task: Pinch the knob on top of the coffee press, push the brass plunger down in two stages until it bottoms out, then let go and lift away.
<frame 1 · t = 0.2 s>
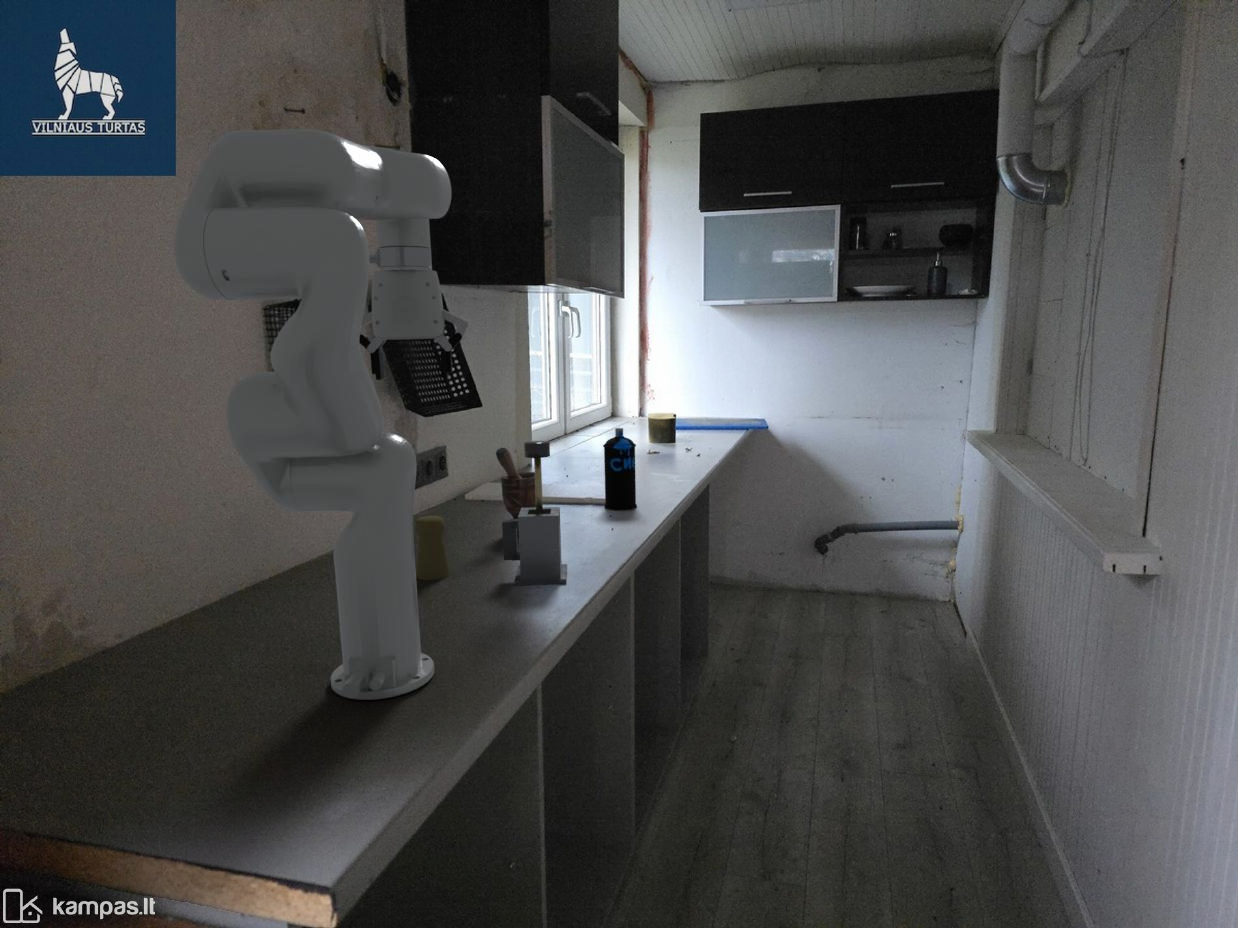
hand: (413, 378, 115), 37 cm above the kitchen counter, tool pointing down, fingers open, 9 cm apart
mortar and pestle: (521, 535, 166), on the kitchen counter
cork: (433, 576, 139), on the kitchen counter
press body: (541, 576, 137), on the kitchen counter
plunger: (538, 483, 134), point 17 cm above the kitchen counter, slide at 0.0 cm
aerosol can: (620, 507, 192), on the kitchen counter
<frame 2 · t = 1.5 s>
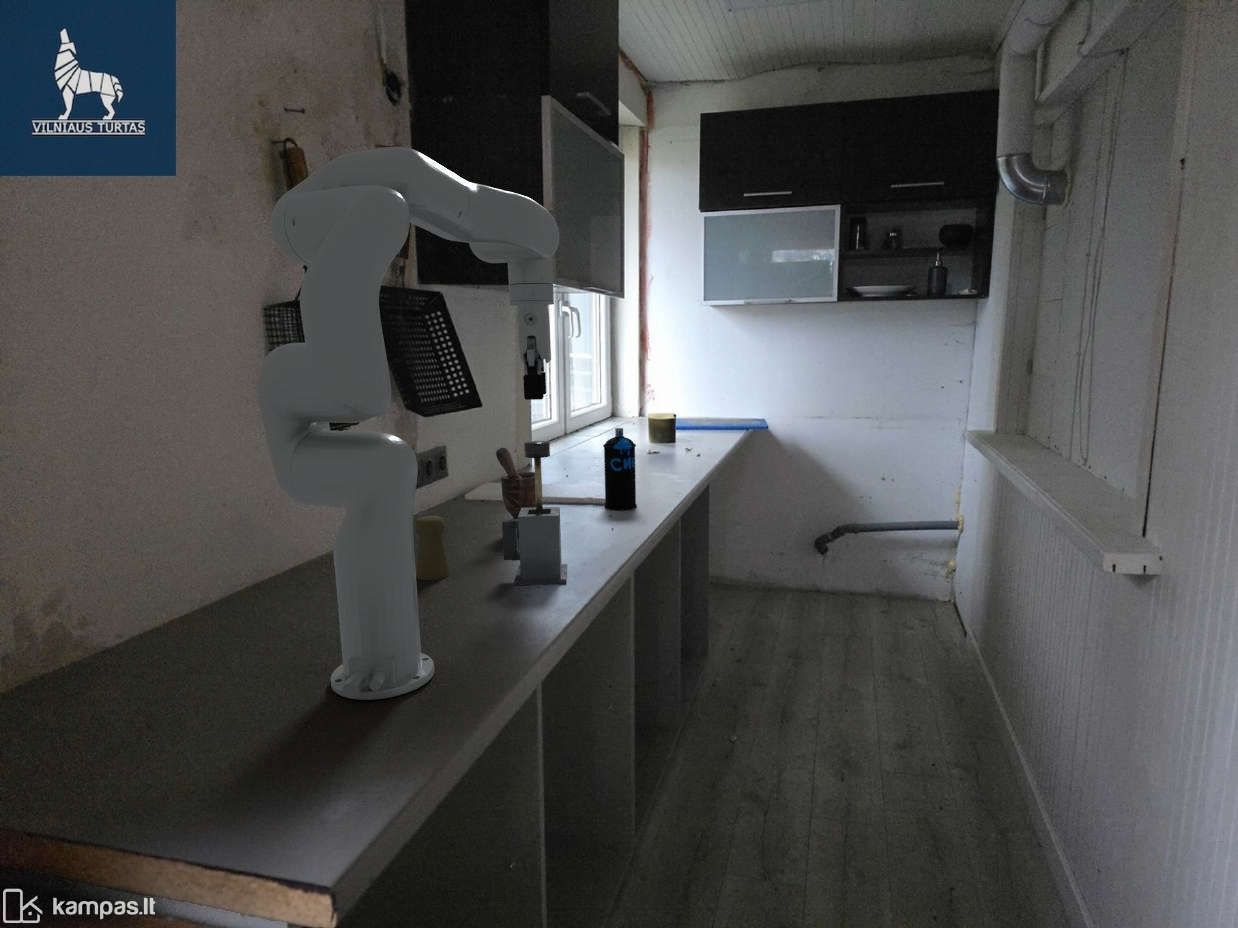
hand: (535, 396, 132), 32 cm above the kitchen counter, tool pointing down, fingers open, 9 cm apart
nothing on the kitchen counter moved.
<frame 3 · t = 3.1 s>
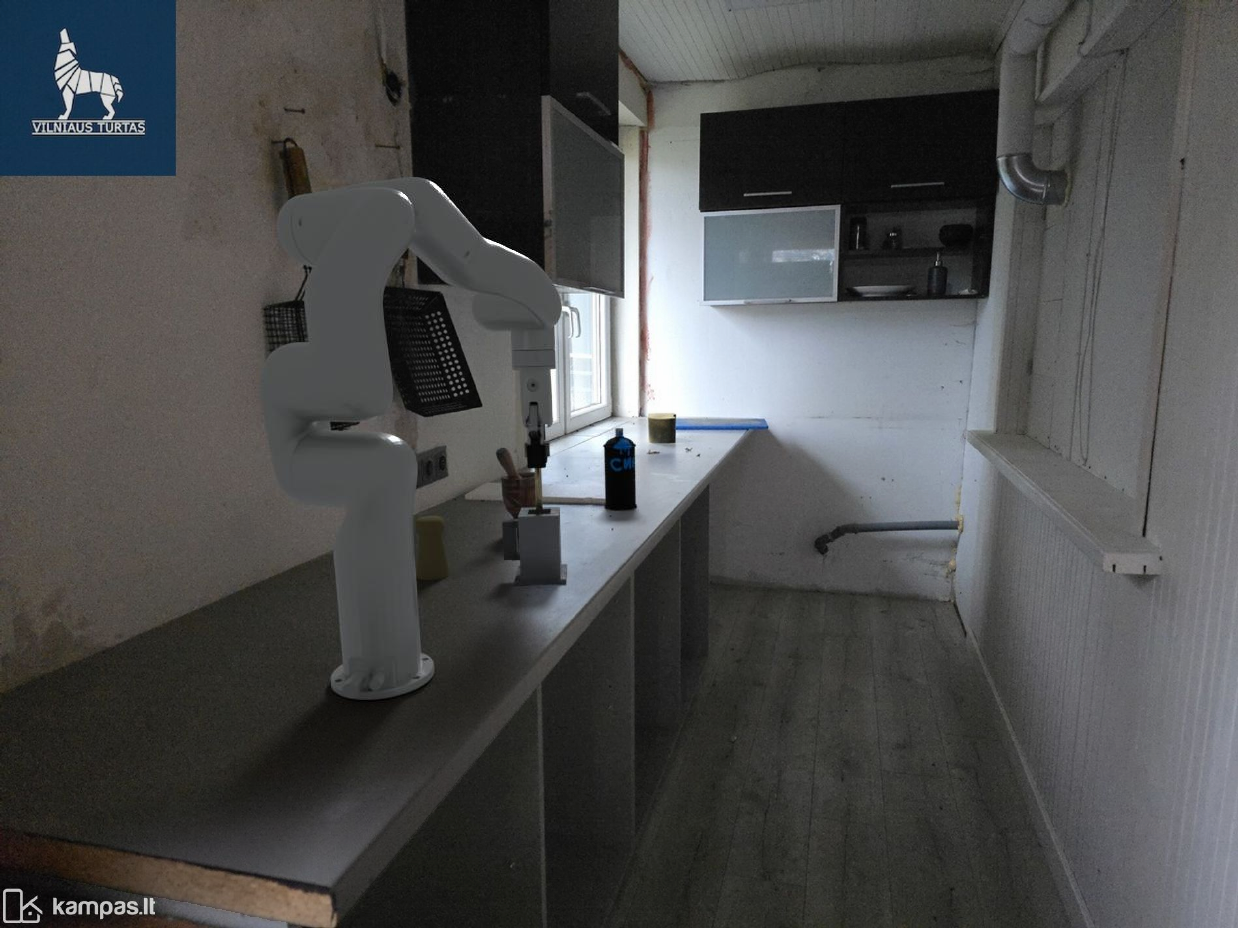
hand: (537, 464, 134), 21 cm above the kitchen counter, tool pointing down, fingers closed on plunger, 4 cm apart
plunger: (538, 483, 134), point 17 cm above the kitchen counter, slide at 0.0 cm, touching gripper
everything else where it was.
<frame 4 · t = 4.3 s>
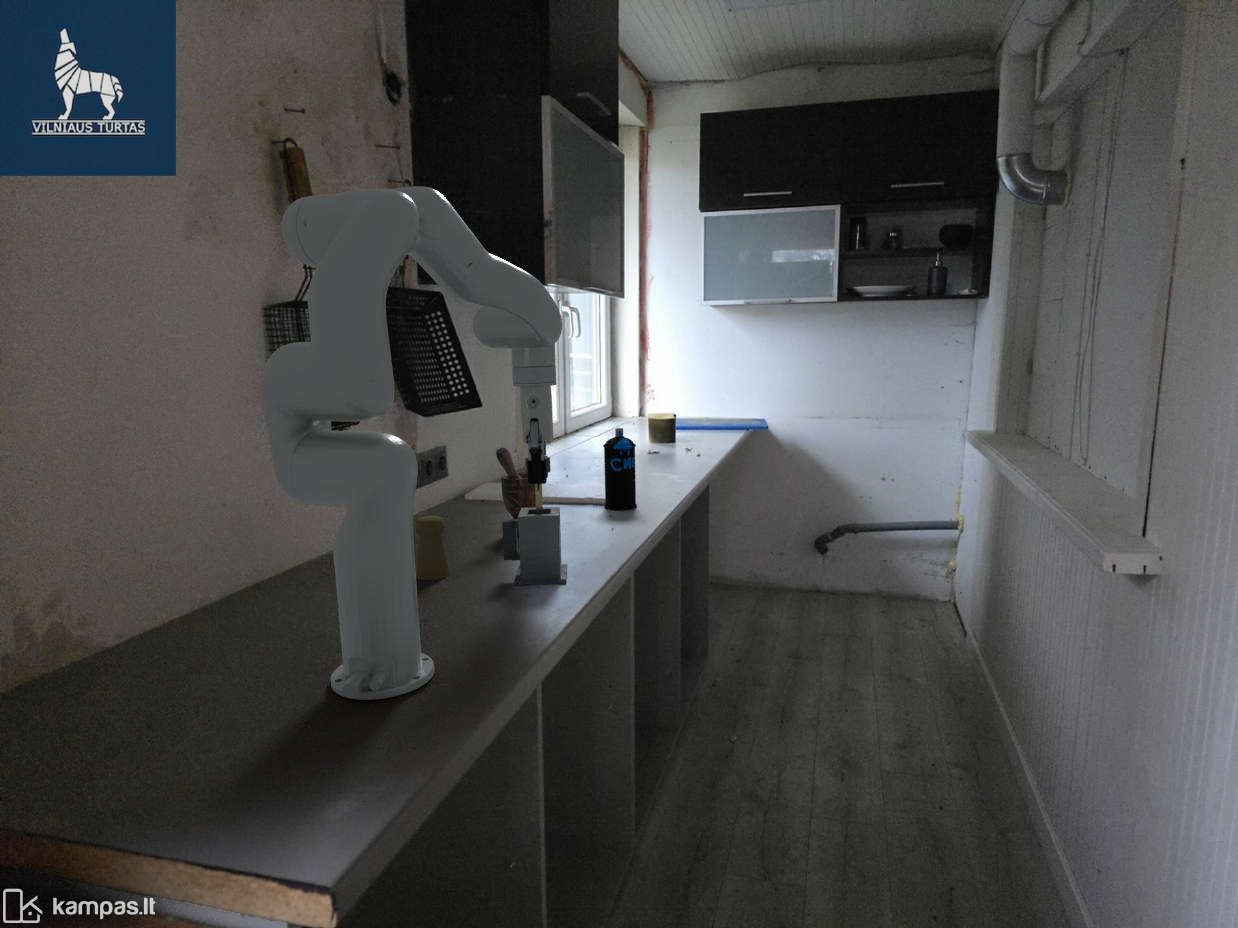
hand: (538, 479, 134), 18 cm above the kitchen counter, tool pointing down, fingers closed on plunger, 4 cm apart
plunger: (539, 499, 135), point 14 cm above the kitchen counter, slide at 2.8 cm, touching gripper
everything else where it was.
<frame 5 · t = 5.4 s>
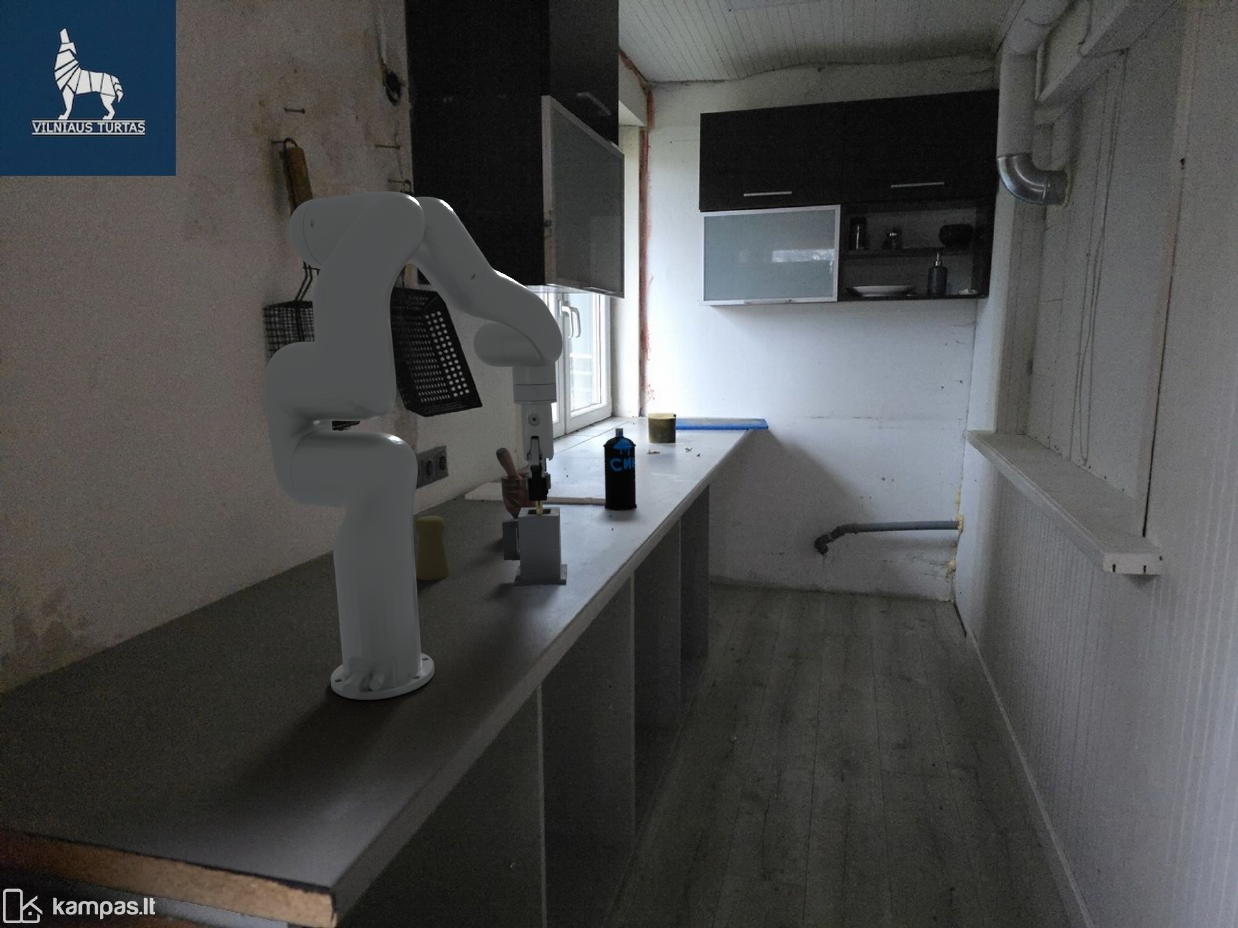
hand: (538, 496, 135), 15 cm above the kitchen counter, tool pointing down, fingers closed on plunger, 4 cm apart
plunger: (539, 515, 135), point 11 cm above the kitchen counter, slide at 5.8 cm, touching gripper
everything else where it was.
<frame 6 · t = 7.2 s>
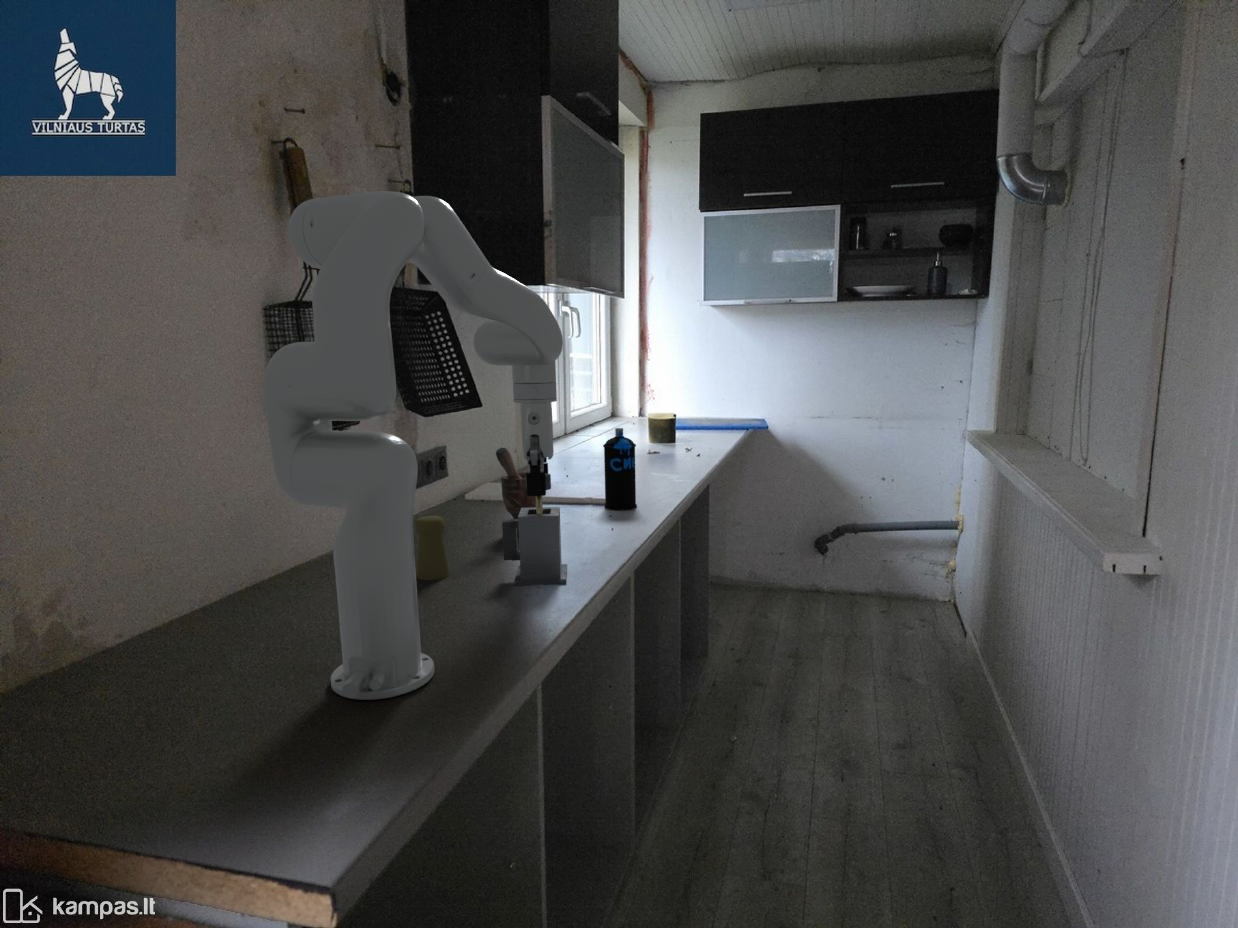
hand: (538, 490, 134), 16 cm above the kitchen counter, tool pointing down, fingers open, 9 cm apart
plunger: (539, 515, 135), point 11 cm above the kitchen counter, slide at 5.8 cm
everything else where it was.
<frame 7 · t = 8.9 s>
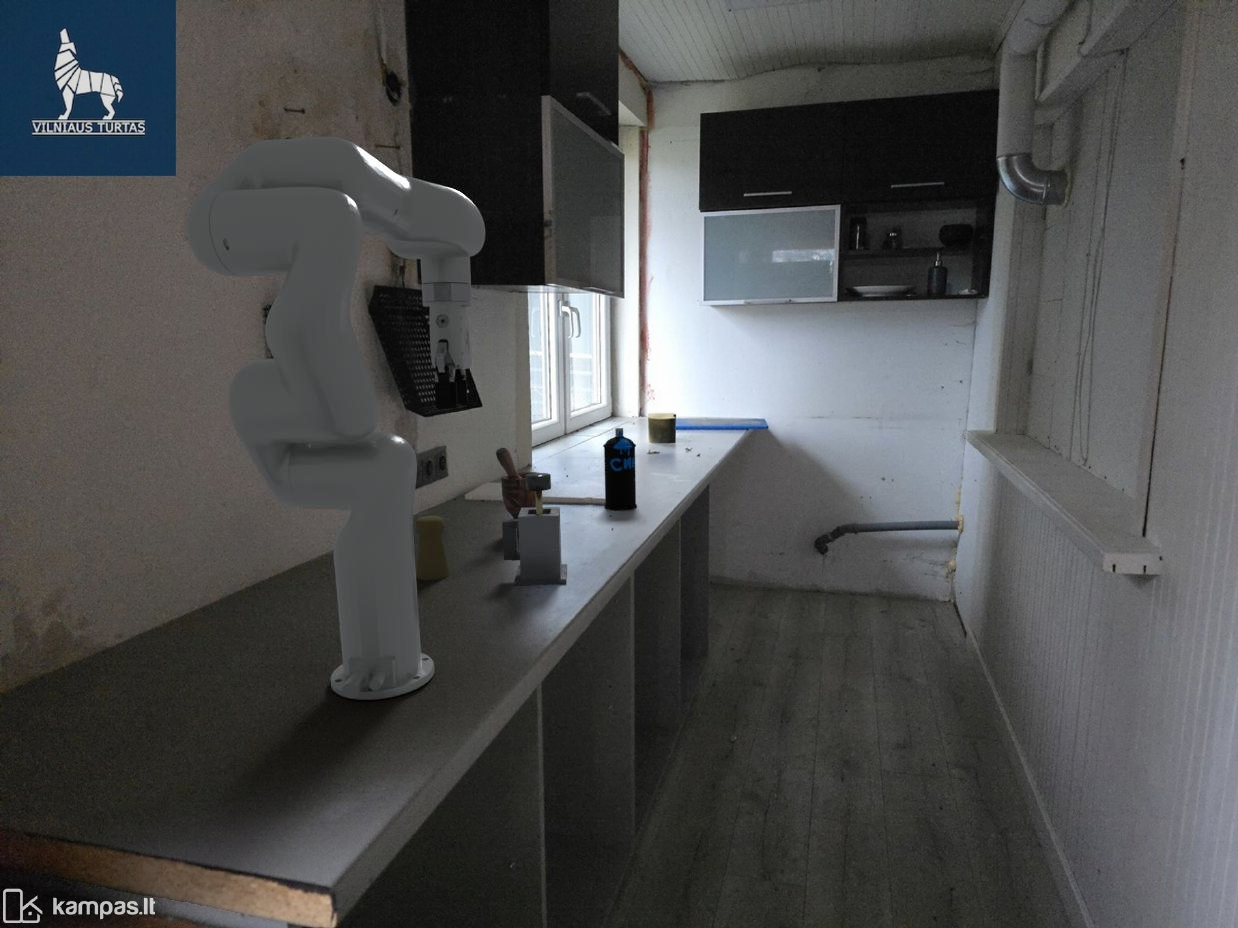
hand: (452, 406, 122), 32 cm above the kitchen counter, tool pointing down, fingers open, 9 cm apart
nothing on the kitchen counter moved.
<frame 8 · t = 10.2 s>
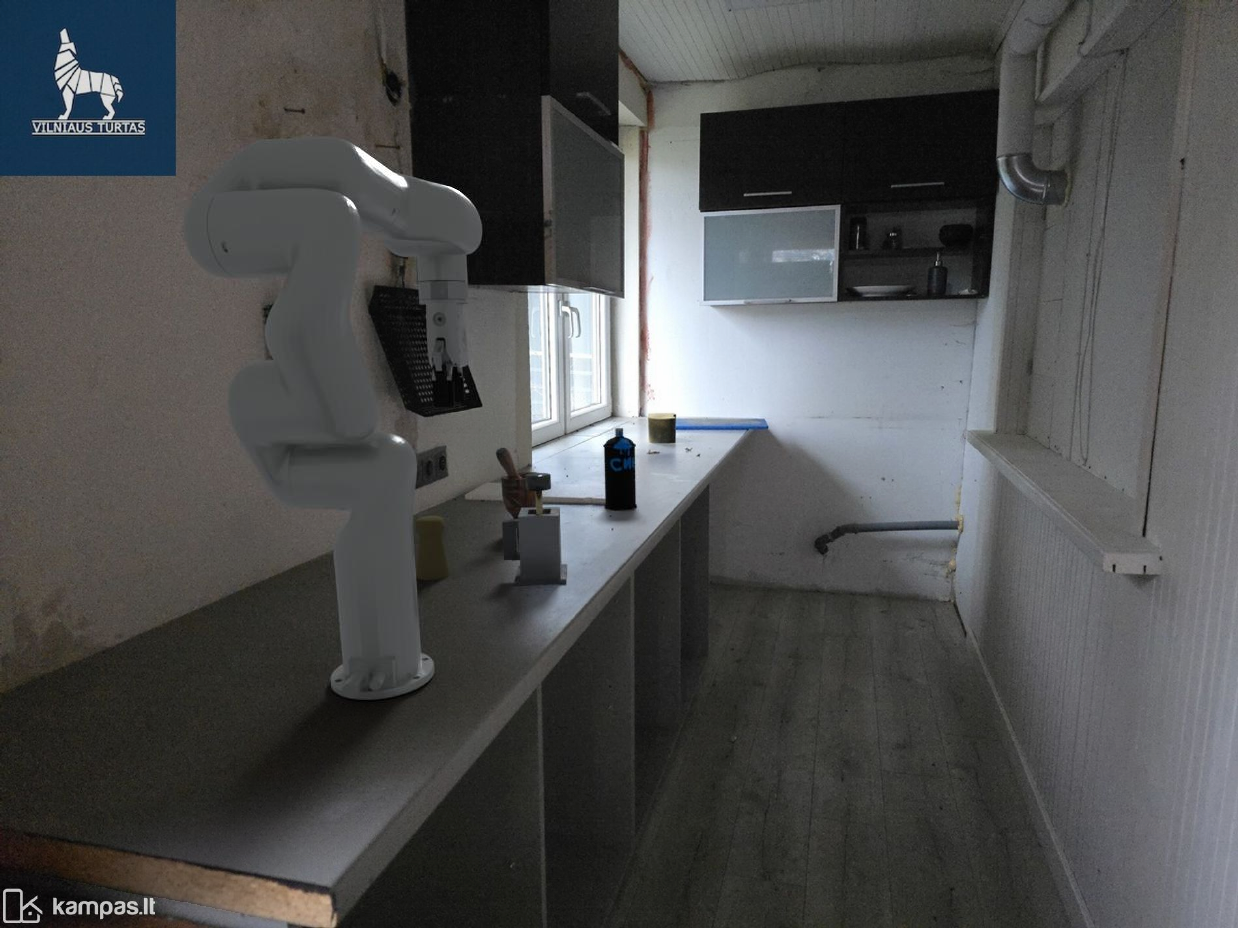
hand: (449, 404, 121), 32 cm above the kitchen counter, tool pointing down, fingers open, 9 cm apart
nothing on the kitchen counter moved.
at the end: plunger slide at 5.8 cm; the gripper is holding nothing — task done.
